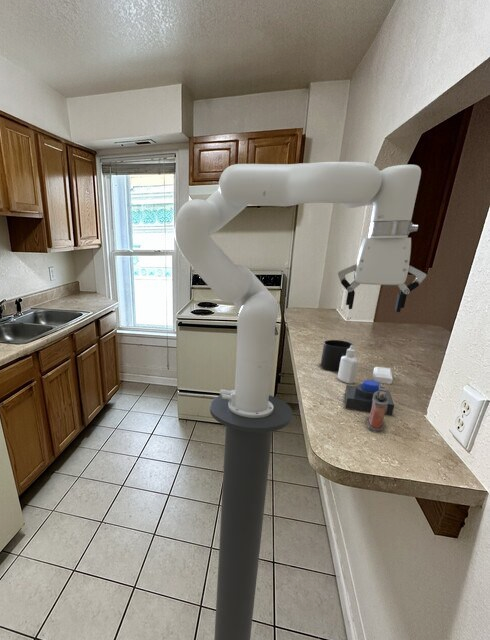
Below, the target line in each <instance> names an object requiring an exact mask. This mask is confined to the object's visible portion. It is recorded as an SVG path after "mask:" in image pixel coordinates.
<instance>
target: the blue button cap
mask: <svg viewBox="0 0 490 640" xmlns="http://www.w3.org/2000/svg"><path fill="white" fill-rule="evenodd" d="M361 384H362V389H364V390H367V391H372V392H376V391H378V390H379V386H380V385H381V384H380V383H379V382H376V381H374V380H373V379H364V380H363V381H362V383H361Z"/></svg>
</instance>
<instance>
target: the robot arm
mask: <svg viewBox="0 0 490 640" xmlns="http://www.w3.org/2000/svg"><path fill="white" fill-rule="evenodd" d="M421 176H422V169H421V167H420V166H419V165H417V164H397V165H391V166H388V167H385V168H383V169H382V170H380V169H379V168H378V167H377V166H376V165H374V164H372V163H369V162H364V161H320V162H303V163H289V164H288V163H235V164H231V165H229V166H228V167H226V168H225V169H224V170H223V171H222V173H221V174H220V176H219V180H218V188H217V189H216V190H215V192H213V193H212V194H211V195H210V196H209V197H208V198H206V199H202V198H193V199H190V200H187V201H186V202H185V203H183V204H182V205H181V206H180V209H179V210H178V212H177V214H176V216H175V217H176V218H175V221H174V231H173V232H174V239H175V244H176V246H177V248H178V250H179V252H180V254H181V255H182V256H183V258H184V259H185V261H186V262H187V263H188V264H189V265H190V267H191V268H192V269H193V270H194V271H195V272H196V274H197V275H198V276H199V277H200V278H201V279H202V281H203V282H204V283H205V284H206V285H207V286H208V287H209V288H210V290H211V291H212V292H213V293H214V294H215V296H216V297H217V298H218V299H219V300H220V301H222V302H224V303H227V304H234V305H235V306H236V308H237V309H238V310H239V311H238V315H237V321H236V330H237V331H236V333H237V334H236V335H237V338H236V339H237V342H236V361H235V362H236V363H235V375H234V377H235V379H234V389H231V390H227V389H224V388H223V389H221V388H220V391H219V396H222V399H229V400H230V401H229V403H228V407H229V409H230V410H231V411H232V412H233V413H235V414H237V415H239V416H243V417H248V418H262V417H266V416H268V415H270V414H271V413H272V412H273V408H274V407H273V405H272V403H271V402H269V401H268V400H269V395H270V387H271V380H272V379H271V377H272V367H273V359H274V347H275V338H276V337H275V336H276V328H277V320H278V316H279V309H280V307H279V303H278V301H277V299H276V298H275V296H274V294H272V293H271V292H270V290H269V289H268V288H267V287H266V286H265V285H264V283H263V282H262V281H261V280H260V279H259V278H258V277H257V276H256V275H255V274H254V272H252V270H250V268H248V267H247V266H246V265H243V264H241V263H236V262H234V261H233V260H232V259H231V258H230V257H229V256H228V255H227V254H226V253H225V251H224V250H223V249H222V247H220V246H219V245H218V243H216V242H215V241H214V240H213V238H212V237H211V236H212V235H214V234H215V233H218V231H219V230H221V229H222V228H223V227H224V226H226V225H227V224H228V223H230V221H231V220H233V219H234V218H235V217H236V216H237V215H239V214H240V213H241V212H242V211H243V210H244V209H245V208H247V207H249V206H271V207H294V206H296V205H297V206H298V205H302V204H313V203H315V204H319V203H320V204H321V203H322V204H325V203H326V204H340V205H341V206H342V207H345V208H348V209H354V208H360V207H361V208H362V207H365V206H366V207H367V206H372V210H371V215H370V222H369V226H368V231H367V237H365V238H363V239H362V241H361V244H360V247H359V251H358V253H357V254H358V255H357V258H356V263H355V264H352V265H351V266H348V267H345V268H343V269H341V270H339V271H337V276H338V279H339V281H340V284H341V285H342V286H343V288H344V289H345V290H346V291H347V295H346V301H345V305H346V306H348V310H352V309H353V306H354V301H355V296H356V293H355V289H356V288H358V287H359V286H360V285H371V286H372V285H376V286H397V287H398V288H399V292H398V293H397V296H396V300H395V304H394V311H395V312H396V313H401V310H402V309H404V308H405V307H406V301H407V297H408V295H409V294H410V293H411V292H412V291H414V290H415V289H417V288H418V287H419V286H420V284H421V283H422V282H423V281H424V280H425V279H426V277H427V276H428V275H427V273H425V272H423V271H422V270H420V269H417V268H415V267H414V266H412V265H410V262H411V252H412V237H409V235H410V234H411V233H413V232H418V229H419V224H414V223H413V222H412V218H413V214H414V208H415V203H416V199H417V194H418V191H419V186H420V180H421ZM353 272H354V273H353ZM350 273H353V279H354V280H353V281H352V282H351V283H350V282H349V281H348V280H347V278H346V275H348V274H350ZM409 273H410V274H411V275H413V276H415V278H414V280H413V281H412V282H410V283H408V284H406V281H407V278H408V274H409Z"/></svg>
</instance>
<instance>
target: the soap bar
mask: <svg viewBox="0 0 490 640" xmlns="http://www.w3.org/2000/svg"><path fill="white" fill-rule="evenodd" d="M372 376H373V381H376V382H378V383H379V384H380V383H381V384H388V385H392V384H393V379H394V378H393V373H392V369H391V368H390V367H385V366H384V367H383V366H375V367H374V368H373V371H372Z"/></svg>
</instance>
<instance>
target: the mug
mask: <svg viewBox="0 0 490 640" xmlns="http://www.w3.org/2000/svg"><path fill="white" fill-rule="evenodd" d="M351 345H353V346H354V344H353V343H351V342H350V341H345V340H340V339H339V340H338V339H329V340H325V341H323V346H322V354H321V360H320V367H321V368H322V369H324V370H326V371H330V372H335V373H338V372H339V366H340V361H341V357H342V356H346V352H347V349H349V348H350V346H351Z"/></svg>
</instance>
